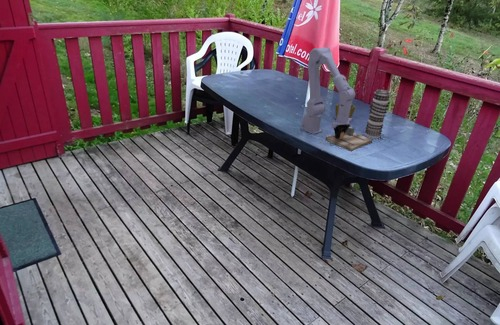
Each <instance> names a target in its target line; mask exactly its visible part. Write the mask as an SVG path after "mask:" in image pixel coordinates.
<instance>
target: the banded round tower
mask: <svg viewBox="0 0 500 325" xmlns="http://www.w3.org/2000/svg"><path fill="white" fill-rule="evenodd" d="M373 92H374V95H373V98H372V100H371V102H370V106H369V107H370V108H369V113H368V114H369V117H368V120H367V121H366V127H365V129H364V136H365V137H367V138H371V139H372V138H373V139H379V138H381V135H382V132H383V127H384V122H385V121H384V119H385V117H386V114H387V111H388V107H389V105H390V101H389V100H390V99H389V98H390V96H391V94H390V93H389V92H390V91H388V89H387V90H386V89H383V88H382V89H376V91H373Z"/></svg>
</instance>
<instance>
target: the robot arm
mask: <svg viewBox="0 0 500 325" xmlns="http://www.w3.org/2000/svg"><path fill="white" fill-rule="evenodd" d="M333 54H334V53H333V52H332V50H331V49H330V47H328V46H324V47H315V48H312V49H311V50H310V52H309V53H308V55H309V56H308V57H309V58H308V63H307V67H308V68H307V69H308V86H309V99H308V100H307V101H306V107H305V112H306V113H304V115H303V116H302V122H301V127H300V130H303V131H304V132H308V133H310V134H311V135H315V134H317V133H321V132H322V133H323V129H321V128H320V127H321V122H322V116H323V114H324V113H325V111H326V105H325V100H324V99H323V98H322V97H321V80H320V66H321V65H325V66H326V68H327V69H328V71H329V73H330V74H331V76H332V77H333V80H332V83H333V84H334V87H335V88H336V90H337V91H338V99H339V101H338V102H339V103H338V104H339V109H338V115H337V117H336V119H335V120H334V121H333V122H331V128H333V132H334V134H335V138H337V139H339V138H340V135H341V132H342V131H343V132H344V134H345V132H346V130H347V129H348V128H349V127H350V126H351V124H350V123H352V121H353V118H352V117H351V118H349V114H350V109H351V105H353V104H352V103H353V100H354V99H355V98H356V95H357V94H356V91H355V89H354V88H353V87H351V85H350V84H349V83H348V81H347V77H346V76H345V75H344V74H341V73H340V71H339V68H338V67H337V65H336V62H335V60H334V55H333Z"/></svg>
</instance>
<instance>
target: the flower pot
mask: <svg viewBox="0 0 500 325" xmlns="http://www.w3.org/2000/svg"><path fill="white" fill-rule="evenodd" d="M339 104H340V103H337V104H335V110H334V111H335V112H334V113H335V116H336V118H337V115H338V109H339ZM356 108H357V107H356V105H353V104H351V109H350V114H349V118H351V119H352V116H353V115H354V112H355V110H356Z"/></svg>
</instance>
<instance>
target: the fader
mask: <svg viewBox="0 0 500 325" xmlns="http://www.w3.org/2000/svg"><path fill="white" fill-rule="evenodd" d="M355 130H356V129H355V127H353V126H351V125H350V127H349V128H348V129H347V130H346V134H349V135H352V134H354V133H355Z"/></svg>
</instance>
